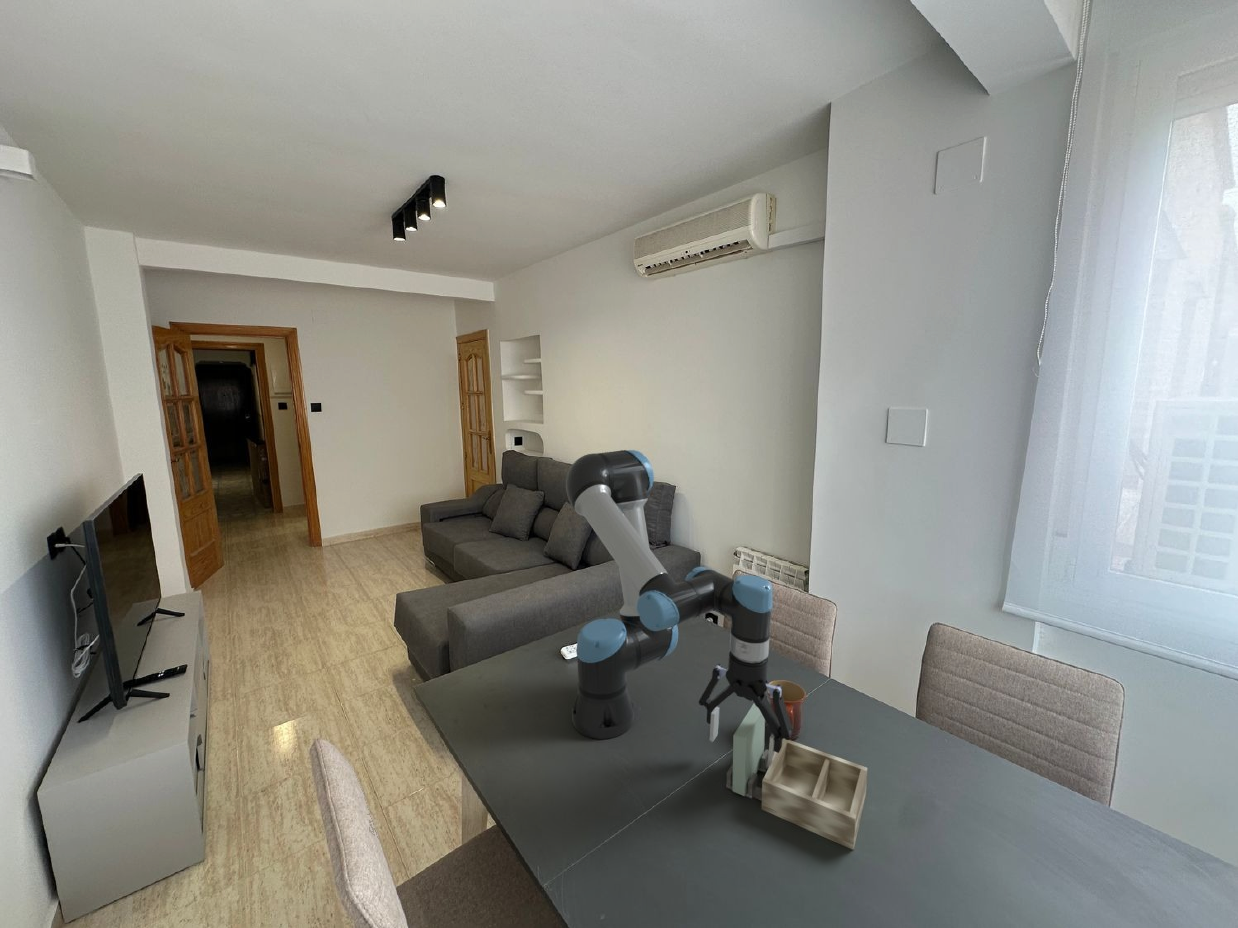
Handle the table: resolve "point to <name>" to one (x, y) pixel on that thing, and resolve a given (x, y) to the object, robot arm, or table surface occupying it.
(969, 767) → the table surface
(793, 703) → the mug
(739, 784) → the block
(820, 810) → the wooden divided box
